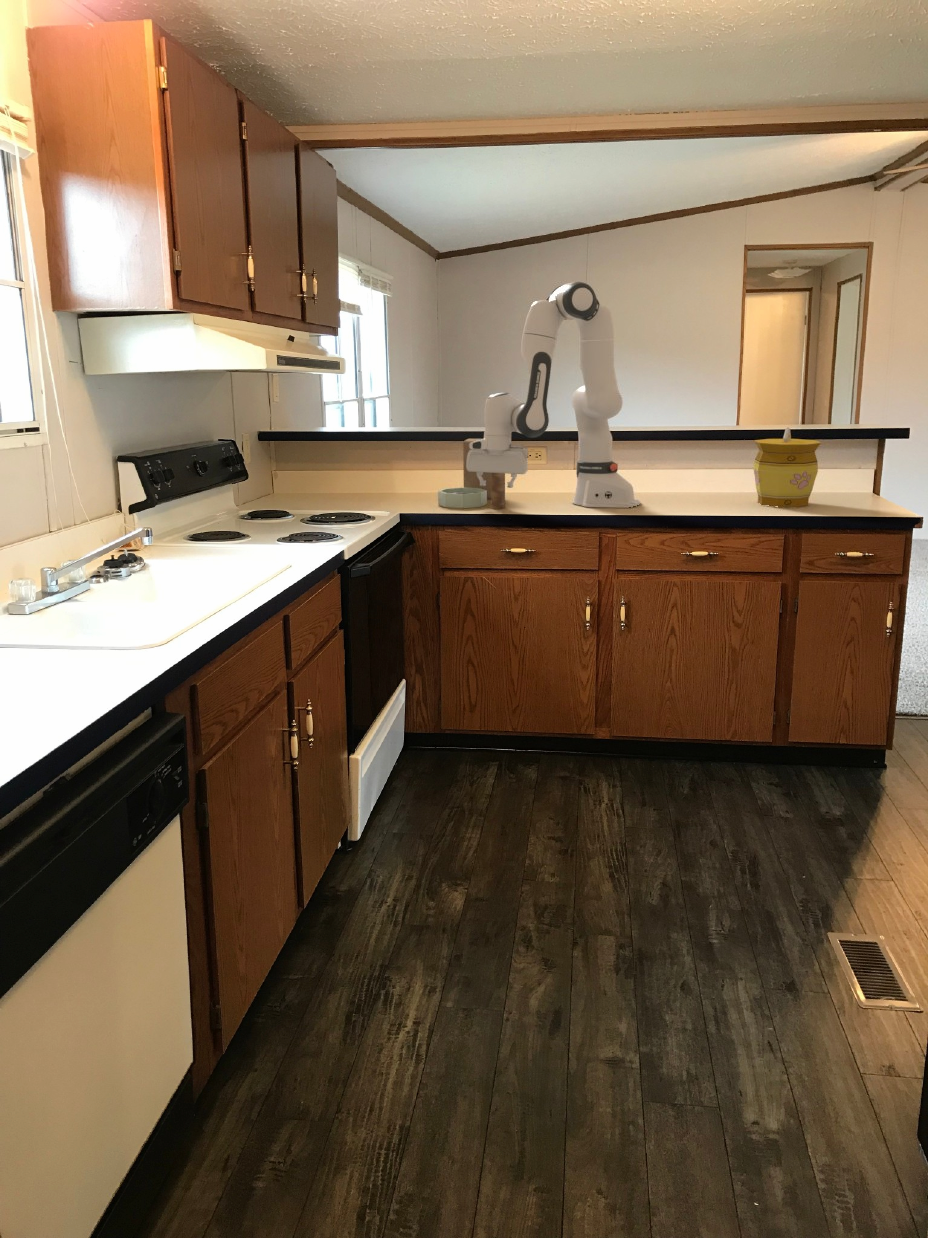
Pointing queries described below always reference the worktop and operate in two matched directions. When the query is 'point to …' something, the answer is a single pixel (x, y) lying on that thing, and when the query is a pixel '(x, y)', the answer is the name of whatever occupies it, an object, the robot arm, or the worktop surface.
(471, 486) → the wooden block
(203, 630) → the worktop surface
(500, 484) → the wooden rectangular beam
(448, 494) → the octagonal green tray
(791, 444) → the container
